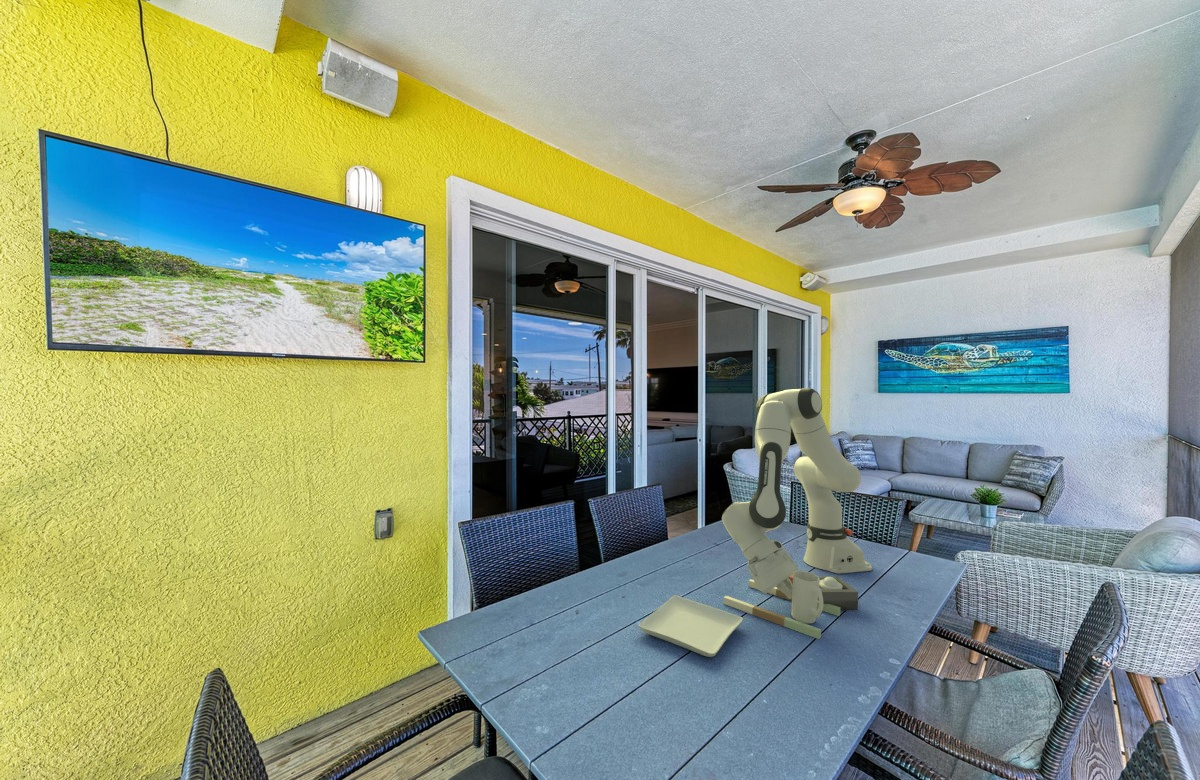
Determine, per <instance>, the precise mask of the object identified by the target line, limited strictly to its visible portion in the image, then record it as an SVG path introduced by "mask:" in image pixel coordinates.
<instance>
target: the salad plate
mask: <svg viewBox="0 0 1200 780" xmlns="http://www.w3.org/2000/svg"><path fill="white" fill-rule="evenodd" d="M743 621H744V618H743V617H742V616H740V615H738V614H735V613H731V612H729V611H726V610H722V609H719V608H716V607H715V606H714V607H713V606H710V605H707V604H704V603H702V602H697V601H695V600H693V599H688V598H685V597H682V596H679V595H676V594H675V595H673V596H671V597H670V598H669V599H668V600H667V601H666V602H664V603H663V604H661V606H659V608H657V609H656V610H654V612H652V613H651V614H650V615H648V616H647V617H646V618H645V619H643V620H642V621H641V622H640V623H639V624H638V627H639V628H640V630H641V631H643V632H644V633H646V634H647V635H650V636H653V637H654V638H655V637H656V638H658V639H660V640H663V641H666V642H668V643H671V644H674V645H676V646H679V647H682V648H684V649H686V650H689V651H691V652H695V653H697V654H699V655H701V656H703V657H704V656H705V657H708V658H713V657H715V656H716V655H717V654H718V653H719V651H720V650H721V648H722V647H723V645H724V643H725V642H726V641H727V640H728V639H729V637H730V636H731V635H732V634H733V632H734V631H736V629H737V628H738V627H740V625H741V624H742V623H743Z"/></svg>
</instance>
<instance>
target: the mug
mask: <svg viewBox="0 0 1200 780" xmlns="http://www.w3.org/2000/svg"><path fill="white" fill-rule="evenodd" d="M819 577H820V576H818V575H817V574H815V573H813V572H810V571H806V570H798V571H795V572H794V573H793V587H792V601H791V611H790V612H791V617H792V619H793V620H796V621H799V622H802V623H805V624H807V625H809V624H814V623H815V622H816V620H817V619H818V618H820V616H821V614H822V612H823V611H822V610H823V596H822V590H821V589H820V588H819V580H820V579H819ZM818 598H819V607H818V609H817V601H818Z"/></svg>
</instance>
